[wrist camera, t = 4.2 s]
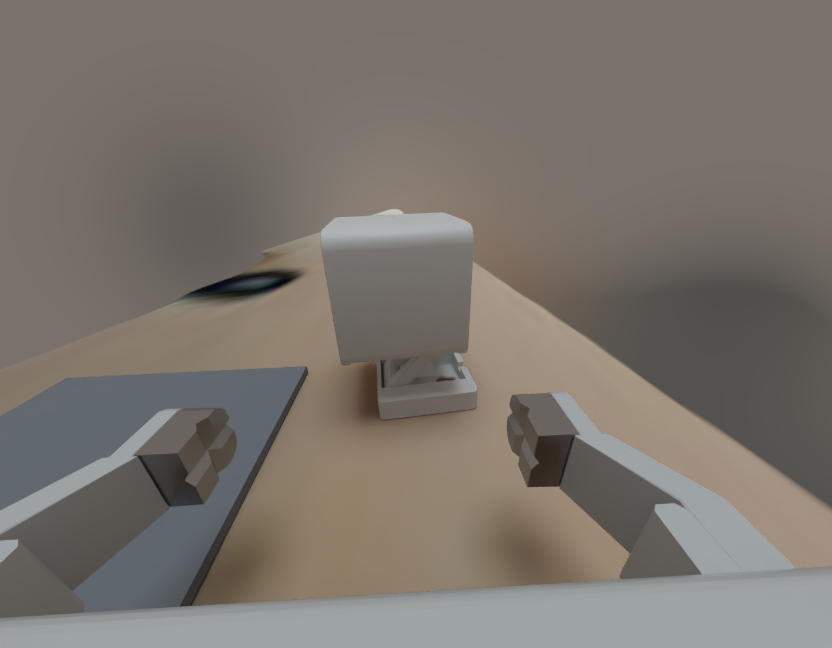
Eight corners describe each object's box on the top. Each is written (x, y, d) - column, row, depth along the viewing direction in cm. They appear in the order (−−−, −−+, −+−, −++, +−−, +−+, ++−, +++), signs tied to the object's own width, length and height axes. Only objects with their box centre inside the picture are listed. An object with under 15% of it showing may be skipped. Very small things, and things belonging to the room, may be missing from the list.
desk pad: (67, 847, 6) (53, 844, 6) (-817, 918, 5) (-871, 919, 5) (307, 372, 20) (306, 366, 20) (70, 384, 20) (66, 378, 20)
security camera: (356, 364, 21) (335, 216, 17) (451, 354, 22) (455, 210, 17) (350, 430, 15) (316, 232, 11) (479, 414, 16) (495, 223, 12)
